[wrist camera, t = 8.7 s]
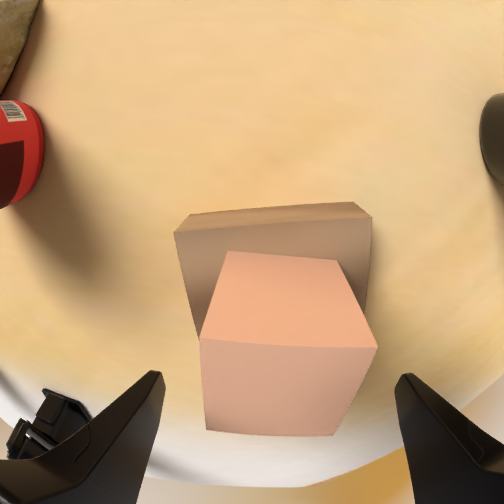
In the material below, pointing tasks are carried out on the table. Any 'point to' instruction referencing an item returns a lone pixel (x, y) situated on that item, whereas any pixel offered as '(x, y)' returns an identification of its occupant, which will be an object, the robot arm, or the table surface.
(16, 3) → the pastry
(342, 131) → the table surface
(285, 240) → the walnut box
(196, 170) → the table surface
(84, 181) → the table surface
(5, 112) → the canned food
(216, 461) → the table surface
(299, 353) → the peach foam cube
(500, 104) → the supplement bottle
